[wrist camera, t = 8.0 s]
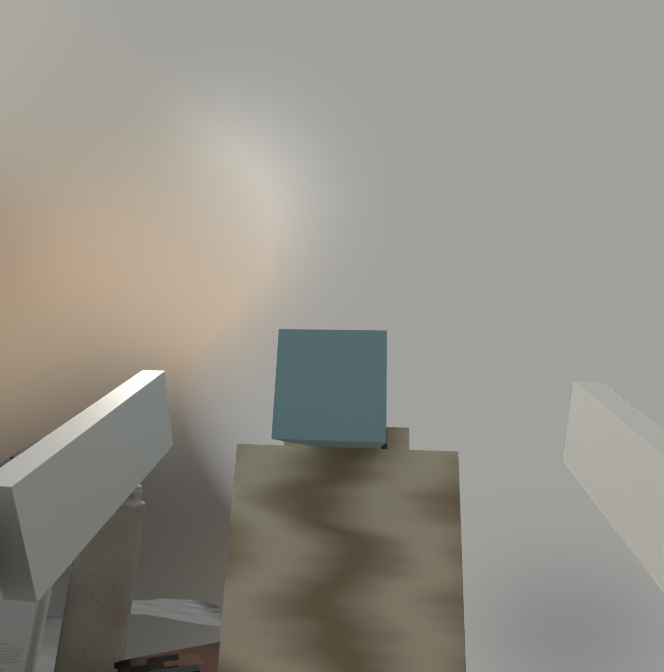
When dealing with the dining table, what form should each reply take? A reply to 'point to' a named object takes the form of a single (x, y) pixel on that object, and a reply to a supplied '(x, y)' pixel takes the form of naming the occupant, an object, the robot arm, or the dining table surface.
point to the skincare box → (21, 633)
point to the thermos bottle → (102, 593)
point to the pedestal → (344, 560)
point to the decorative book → (175, 661)
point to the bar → (331, 388)
